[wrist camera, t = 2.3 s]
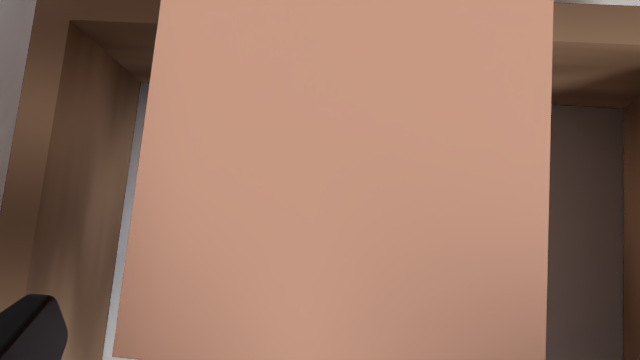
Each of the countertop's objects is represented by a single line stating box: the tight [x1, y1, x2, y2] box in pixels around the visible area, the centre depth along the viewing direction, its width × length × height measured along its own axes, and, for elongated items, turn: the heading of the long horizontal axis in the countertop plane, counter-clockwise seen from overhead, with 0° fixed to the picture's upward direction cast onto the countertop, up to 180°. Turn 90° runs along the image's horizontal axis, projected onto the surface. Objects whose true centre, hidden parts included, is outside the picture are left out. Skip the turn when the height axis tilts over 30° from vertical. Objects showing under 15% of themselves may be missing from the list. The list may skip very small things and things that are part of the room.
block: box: [112, 0, 554, 360], centre depth 13 cm, size 4×4×13 cm
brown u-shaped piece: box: [0, 0, 640, 360], centre depth 17 cm, size 13×18×5 cm
